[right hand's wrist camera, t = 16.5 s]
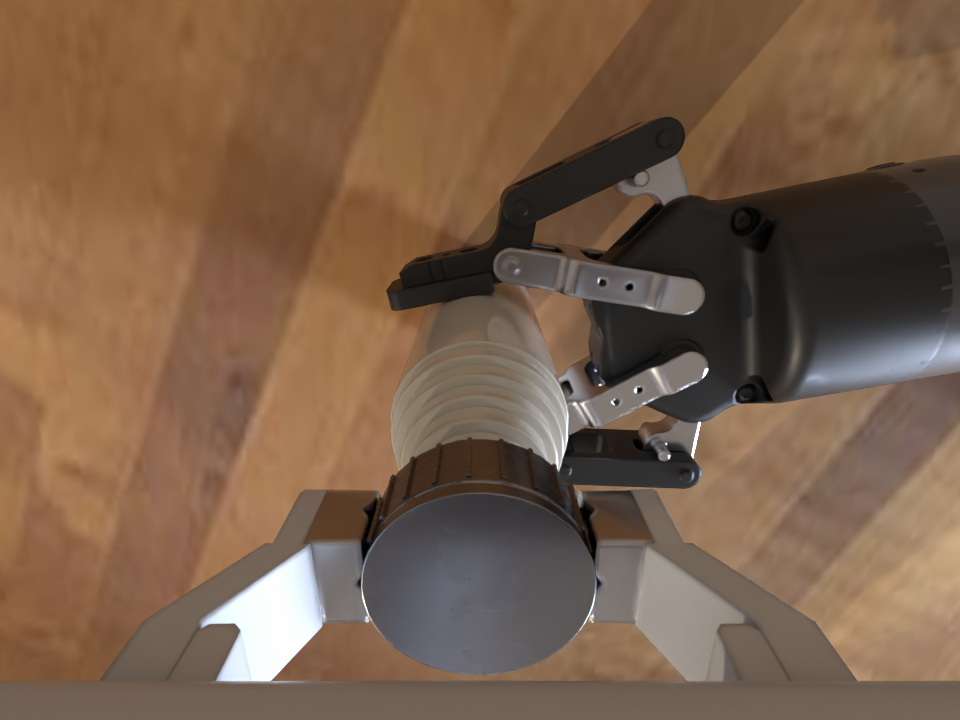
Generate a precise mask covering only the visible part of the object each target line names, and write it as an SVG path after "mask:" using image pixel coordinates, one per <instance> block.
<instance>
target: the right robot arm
mask: <svg viewBox="0 0 960 720" xmlns="http://www.w3.org/2000/svg"><path fill="white" fill-rule="evenodd" d="M379 497H381V495H380V493H379V491H370V490H304V491H302V492H301V493H300V494H299V496H298V498H297V500H296V501H295V503H294V505H293V507H292V509H291V511H290V513H289V514H288V516H287V518H286V520H285V522H284V524H283V525H282V527H281V529H280V531H279V533H278V535H277V537H276V538H275V540H274V542H273V543H265V544H264V545H262V546H260V547H259V548H257V549H256V550H254V551H253V552H251V553H249V554H248V555H246V556H245V557H243V558H242V559H240V560H238V561H237V562H235V563H234V564H232V565H231V566H229V567H227V568H226V569H224V570H223V571H221V572H220V573H218V574H216V575H215V576H213V577H212V578H210V579H209V580H207V581H205V582H204V583H202V584H201V585H199V586H198V587H196V588H194V589H193V590H191V591H190V592H188V593H187V594H185V595H183V596H182V597H180V598H179V599H177V600H176V601H174V602H172V603H171V604H169V605H168V606H166V607H165V608H163V609H161V610H160V611H158V612H157V613H155V614H154V615H152V616H150V617H149V618H147V619H146V620H144V621H143V622H142V623H141V625H140V626H139V627H138V629H137V630H136V631H135V633H134V634H133V636H132V637H131V638H130V640H129V641H128V642H127V644H126V645H125V647H124V648H123V649H122V651H121V652H120V653H119V655H118V656H117V657H116V659H115V660H114V662H113V663H112V664H111V666H110V667H109V668H108V670H107V671H106V673H105V674H104V675H103V677H102V678H101V679H100V681H0V720H960V681H857V680H856V678H855V677H854V675H853V674H852V673H851V671H850V670H849V668H848V667H847V666H846V664H845V663H844V662H843V660H842V659H841V657H840V656H839V655H838V653H837V652H836V650H835V649H834V648H833V646H832V645H831V643H830V642H829V641H828V639H827V638H826V637H825V635H824V634H823V632H822V631H821V630H820V628H819V627H818V625H817V624H816V623H815V622H814V621H813V620H811V619H810V618H808V617H806V616H805V615H803V614H802V613H800V612H799V611H797V610H796V609H794V608H792V607H791V606H789V605H788V604H786V603H785V602H783V601H781V600H780V599H778V598H777V597H775V596H774V595H772V594H771V593H769V592H767V591H766V590H764V589H763V588H761V587H760V586H758V585H756V584H755V583H753V582H752V581H750V580H749V579H747V578H746V577H744V576H742V575H741V574H739V573H738V572H736V571H735V570H733V569H732V568H730V567H728V566H727V565H725V564H724V563H722V562H721V561H719V560H717V559H716V558H714V557H713V556H711V555H710V554H708V553H707V552H705V551H703V550H702V549H700V548H699V547H697V546H696V545H694V544H693V543H684V541H683V539H682V537H681V535H680V533H679V532H678V530H677V528H676V526H675V524H674V522H673V521H672V519H671V517H670V515H669V513H668V511H667V509H666V508H665V506H664V504H663V502H662V500H661V498H660V496H659V495H658V493H657V492H656V491H655V490H653V489H645V490H628V491H579V492H578V496H577V501H578V504H579V508H580V511H581V515H582V518H583V521H585V522H586V525H587V528H588V535H587V537H588V540H589V544H590V547H591V550H592V559H593V562H594V566H595V570H596V580H597V586H596V596H595V600H594V604H593V607H592V610H591V612H590V614H589V617H588V619H589V622H605V623H635V626H636V627H637V628H638V629H639V630H640V631H641V632H642V633H643V634H644V636H645V637H646V638H647V639H648V640H649V641H650V642H651V643H652V644H653V645H654V646H655V647H656V648H657V649H658V650H659V652H660V653H661V654H662V655H663V656H664V657H665V658H666V659H667V660H668V661H669V662H670V663H671V664H672V665H673V666H674V667H675V669H676V670H677V671H678V672H679V673H680V674H681V675H682V676H683V677H684V678H685V679H686V680H687V681H271V680H272V679H273V678H274V677H275V676H276V675H277V674H278V673H279V672H280V671H281V670H282V668H283V667H284V666H285V665H286V664H287V663H288V662H289V661H290V660H291V659H292V658H293V657H294V656H295V655H296V654H297V653H298V652H299V650H300V649H301V648H302V647H303V646H304V645H305V644H306V643H307V642H308V641H309V640H310V639H311V638H312V637H313V636H314V635H315V634H316V633H317V631H318V630H319V629H320V628H321V627H322V623H352V622H369V619H370V617H369V615H368V613H367V611H366V608H365V605H364V601H363V598H362V591H361V573H362V568H363V564H364V560H365V556H366V553H367V550H368V546H369V545H368V544H366V540H367V537H368V533H369V530H370V527H371V523H372V520H373V517H374V513H375V510H376V506H377V503H378V500H379Z"/></svg>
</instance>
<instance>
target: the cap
mask: <svg viewBox="0 0 960 720" xmlns="http://www.w3.org/2000/svg"><path fill="white" fill-rule="evenodd" d="M587 535H588V528H587V525H586V522H585V521H583V518H582V515H581V511H580V508H579V504H578V501H577V497H576V493H575V490H574V486H573V485H572V484H570V485H569V484H568V483H567V481H566V480H565V478H564V477H563V476H562V475H561V474H560V472H559V471H558V469H557V465H556V464H554V463H553V464H552V465H551V464H550V463H549V462H548V461H546V460H545V459H544V458H543V457H541V456H539V455H537V454H536V453H534V452H533V449H531V448H528V449H525V448H523V447H520V446H518V445H515V444H512V443H508V442H506V441H504V440H503V439H499V440H490V439H472V437H468V438H467V440H457V441H454V442H450V443H446V444H443V445H442V444H441V443H439V444H437V447H435V448H432V449H430V450H428V451H426V452H424V453H421V454H420V455H418V456H417V457H416V458H415V457H414V456H412V457H411V458H410V462H409V463H408V464H407V465H405V466H404V467H403V468H402V469H401V470H400V471H399V472H398V473H397V475H396V476H395V475H392V476H391V477H390V481H389V484H388V487H387V489H386V491H385V493H384V496H383V498H381V497H379V500H378V503H377V506H376V510H375V513H374V517H373V520H372V523H371V527H370V530H369V533H368V537H367V540H366V544H368V545H369V546H368V550H367V553H366V556H365V560H364V564H363V568H362V573H361V591H362V598H363V601H364V605H365V608H366V611H367V613H368V615H369V617H370V619H371V621H372V623H373V624H374V626H375V627H376V629H377V630H378V631H379V633H380V634H381V635H382V636H383V637H384V638H385V639H386V640H387V641H388V642H389V643H390V644H391V645H393V646H394V647H395V648H396V649H397V650H399V651H400V652H402V653H403V654H405V655H406V656H408V657H410V658H412V659H414V660H416V661H418V662H420V663H422V664H425V665H427V666H430V667H433V668H436V669H440V670H443V671H448V672H453V673H459V674H470V675H489V674H498V673H505V672H510V671H515V670H518V669H522V668H525V667H528V666H531V665H533V664H535V663H538V662H540V661H542V660H544V659H546V658H548V657H549V656H551V655H553V654H555V653H556V652H557V651H559V650H560V649H562V648H563V647H564V646H565V645H566V644H568V643H569V642H570V641H571V640H572V639H573V638H574V637H575V636H576V634H577V633H578V632H579V631H580V630H581V628H582V627H583V625H584V624H585V622H586V620H587V619H588V617H589V614H590V612H591V610H592V607H593V604H594V600H595V596H596V586H597V580H596V570H595V566H594V562H593V559H592V550H591V547H590V544H589V540H588V537H587Z"/></svg>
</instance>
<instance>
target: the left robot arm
mask: <svg viewBox="0 0 960 720" xmlns="http://www.w3.org/2000/svg"><path fill="white" fill-rule="evenodd" d="M684 140H685V132H684V128H683V126H682V124H681V123H680V122H679V121H678V120H676V119H674V118H671V117H664V118H659V119H654V120H650V121H645V122H641V123H637V124H635V125H633V126H631V127H629V128H627V129H625V130H623V131H621V132H619V133H617V134H615V135H613V136H611V137H609V138H607V139H604V140H602V141H600V142H598V143H596V144H594V145H592V146H590V147H588V148H586V149H584V150H582V151H580V152H578V153H576V154H574V155H572V156H570V157H568V158H566V159H563V160H561V161H559V162H557V163H555V164H553V165H551V166H549V167H547V168H545V169H543V170H541V171H539V172H537V173H535V174H533V175H531V176H529V177H527V178H525V179H522V180H520V181H518V182H516V183H514V184H512V185H510V186H508V187H507V188H506V189H505V190H504V191H503V193H502V195H501V198H500V209H499V215H498V221H497V227H496V231H495V233H494V235H493V236H492V237H491V239H490V240H488V241H487V242H486V243H484V244H481V245H477V246H472V247H467V248H462V249H457V250H452V251H447V252H443V253H437V254H433V255H427V256H422V257H417V258H415V259H414V260H412V261H411V262H409V263H408V264H406V265H405V266H404V267H403V269H402V270H401V272H400V273H399V274H400V279H397V280H395V281H393V282H392V283H391V285H390V286H389V287H388V289H387V294H388V298H389V302H390V306H391V309H392V310H394V311H398V310H405V309H410V308H415V307H420V306H426V305H431V304H436V303H441V302H446V301H451V300H457V299H460V298H464V297H470V296H477V295H482V294H487V293H493V292H495V289H494V284H498V283H503V282H504V283H507V284H513V285H519V286H526V287H533V288H539V289H546V290H552V291H557V292H560V293H562V294H564V295H567V296H571V297H577V298H583V304H584V306H585V309H586V311H587V313H588V316H589V318H590V320H591V329H590V336H589V350H590V356H588V357H586V358H584V359H582V360H580V361H579V362H577V363H575V364H573V365H571V366H570V367H569V368H568V369H567V370H566V371H565V373H564V374H563V375H562V376H561V377H559V378H558V379H559V382H560V385H561V388H562V391H563V394H564V397H565V400H566V404H567V409H568V441H567V447H566V451H565V454H564V457H563V459H562V464H561V467H560V470H559V472H560V474H561V475H562V476H563V477H564V478H565V480H566V481H567V483H568V484H575V485H601V486H628V487H655V488H682V489H685V488H690V487H692V486H694V485H696V484H697V483H698V482H699V480H700V478H701V474H702V473H701V469H700V467H699V466H698V465H697V463H696V462H695V460H694V457H693V454H694V450H695V445H696V441H697V436H698V432H699V427H700V423H701V422H704V421H707V420H709V419H711V418H713V417H714V416H716V415H717V414H719V413H720V412H722V411H724V410H725V409H727V408H729V407H732V406H734V405H737V404H743V403H783V402H788V401H794V400H800V399H806V398H811V397H817V396H823V395H828V394H834V393H840V392H846V391H851V390H857V389H863V388H869V387H875V386H881V385H887V384H893V383H898V382H904V381H910V380H916V379H921V378H927V377H933V376H939V375H944V374H950V373H956V372H960V155H952V156H944V157H936V158H930V159H924V160H919V161H914V162H909V163H895V162H892V163H887V164H882V165H878V166H874V167H871V168H868V169H866V170H865V171H863V172H859V173H854V174H849V175H845V176H840V177H835V178H830V179H825V180H820V181H815V182H810V183H805V184H800V185H795V186H790V187H785V188H780V189H775V190H770V191H765V192H760V193H755V194H750V195H745V196H740V197H735V198H730V199H725V200H708V199H706V198H703V197H700V196H694V195H690V194H689V191H688V187H687V184H686V181H685V178H684V174H683V171H682V168H681V165H680V161H679V158H678V155H677V153H678V152H679V151H680V149H681V148H682V146H683V143H684ZM610 186H612V187H613V188H614V190H615V191H616V192H618V193H619V194H622V195H626V196H630V197H638V196H641V195H646V194H647V195H649V196H650V197H651V198H652V199H653V201H654V203H655V204H654V205H653V206H652V207H651V208H650V209H649V210H648V211H647V212H646V213H645V214H644V215H643V216H642V217H641V218H640V219H639V220H638V221H637V222H636V223H635V224H634V225H633V226H632V227H631V228H630V229H629V230H628V231H627V232H626V233H625V234H624V235H623V236H622V237H621V238H620V239H619V240H618V241H617V242H616V243H615V244H614V245H613V246H612V247H611V248H610V249H609V250H608V251H604V250H598V249H591V248H585V247H579V246H572V245H566V244H548V243H542V242H535V241H533V236H534V231H535V225H536V221H538V220H540V219H543V218H545V217H547V216H549V215H551V214H553V213H555V212H557V211H560V210H562V209H564V208H566V207H568V206H570V205H572V204H574V203H576V202H579V201H581V200H583V199H585V198H587V197H589V196H591V195H593V194H596V193H598V192H600V191H602V190H604V189H606V188H608V187H610ZM603 384H604V385H603ZM643 405H646V406H648V407H650V408H652V409H655V410H657V411H659V412H662V413H664V414H666V415H667V416H666V417H665V418H664V419H663V420H661V421H658V422H652V423H650V422H644V423H643V424H642V425H641V428H640V429H639V430H614V429H588V428H585V427H589V426H590V427H594V428H598V427H602V426H604V425H606V424H608V423H610V422H612V421H614V420H616V419H618V418H620V417H622V416H624V415H626V414H628V413H630V412H632V411H634V410H635V409H637V408H639V407H641V406H643Z"/></svg>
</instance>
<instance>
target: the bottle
mask: <svg viewBox="0 0 960 720" xmlns="http://www.w3.org/2000/svg"><path fill="white" fill-rule="evenodd" d="M494 289H495V292H493V293H487V294H482V295H477V296H470V297H464V298H460V299H457V300H451V301H446V302H441V303H436V304H431V305H427V307H426V310H425V312H424V315H423V318H422V321H421V324H420V326H419V329H418V332H417V335H416V337H415V340H414V343H413V346H412V349H411V351H410V354H409V357H408V360H407V362H406V365H405V368H404V371H403V374H402V376H401V379H400V382H399V385H398V388H397V390H396V393H395V396H394V399H393V402H392V408H391V417H390V424H391V443H392V448H393V452H394V455H395V457H396V461H397V465H398V469H399V471H400V470H401V469H402V468H403V467H404V466H405V465H407V464H408V463H409V462H410V458H411V457H412V456H414V457H415V458H416V457H417V456H418V455H420V454H421V453H424V452H426V451H428V450H430V449H432V448H435V447H437V444H439V443H441V444H442V445H443V444H446V443H450V442H454V441H457V440H467V438H468V437H472V439H490V440H499V439H503V440H504V441H506V442H508V443H512V444H515V445H518V446H520V447H523V448H525V449H528V448H531V449H533V452H534V453H536V454H537V455H539V456H541V457H543V458H544V459H545V460H546V461H548V462H549V463H550V464H551V465H552V464H553V463H554V464H556V465H557V469H558V471H559V470H560V467H561V464H562V459H563V457H564V454H565V451H566V447H567V441H568V409H567V404H566V400H565V397H564V394H563V391H562V388H561V385H560V382H559V379H558V377H557V374H556V371H555V368H554V365H553V362H552V359H551V357H550V354H549V351H548V348H547V345H546V342H545V340H544V337H543V334H542V331H541V328H540V325H539V322H538V320H537V317H536V314H535V311H534V308H533V305H532V303H531V300H530V297H529V294H528V291H527V288H526V286H519V285H513V284H507V283H504V282H503V283H498V284H494Z"/></svg>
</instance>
